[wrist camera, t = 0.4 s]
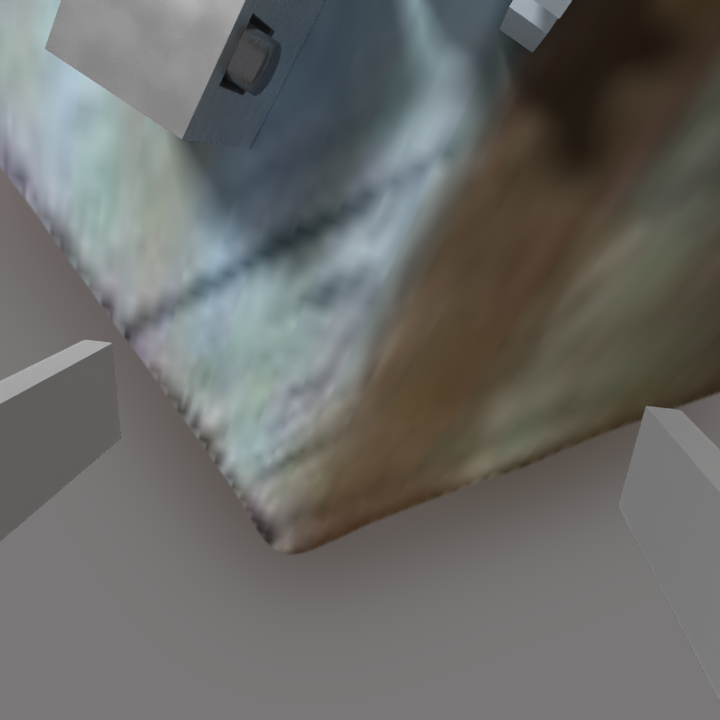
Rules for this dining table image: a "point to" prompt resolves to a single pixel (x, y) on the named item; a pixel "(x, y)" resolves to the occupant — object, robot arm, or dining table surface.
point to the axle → (254, 60)
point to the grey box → (181, 58)
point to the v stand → (532, 20)
